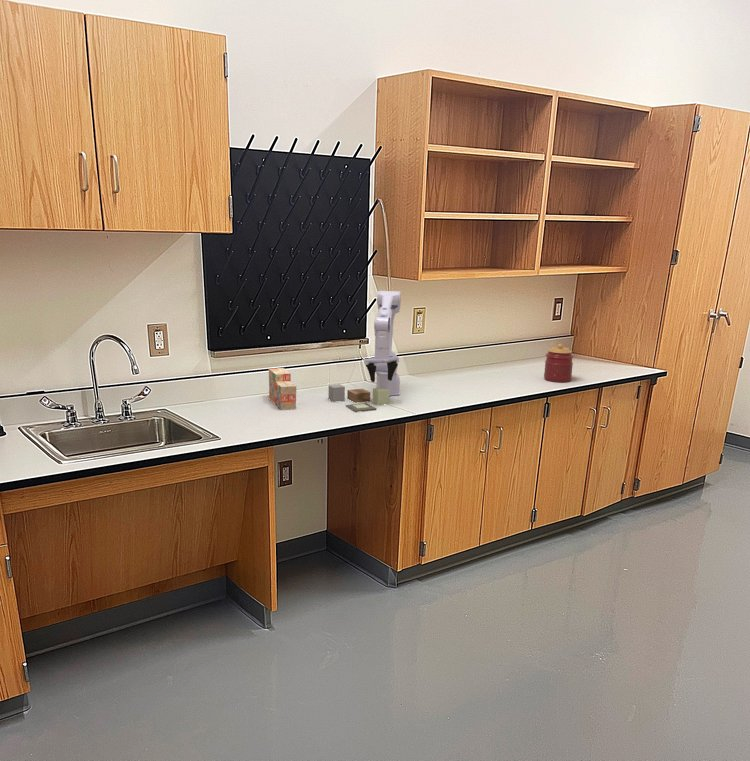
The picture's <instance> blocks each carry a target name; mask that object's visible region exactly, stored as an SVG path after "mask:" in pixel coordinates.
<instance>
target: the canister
mask: <svg viewBox="0 0 750 761" xmlns="http://www.w3.org/2000/svg"><path fill="white" fill-rule="evenodd" d="M547 351H548V352H547V353H545V357H546V358H545V360H544V373H543V378H544V379H543V380H545V381H549V382H554V383H569V382H571V381H572V378H573V365H574V363H573V359H574V355H573V354H572V353H573V350H571V348H568V347H565V346H564V344H563V343H558V344H557V346H552V347H549V348H548V349H547Z"/></svg>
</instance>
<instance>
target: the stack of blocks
mask: <svg viewBox="0 0 750 761" xmlns="http://www.w3.org/2000/svg"><path fill="white" fill-rule="evenodd" d="M291 374H292V373H290V372H289V371H288V370H287V369H285V367H276V368H272V367H271V368H268V383H269V384H268V386H269V390H268V395H269V396H268V397H269V399H270V400H271V401H272V403H274V404H275V405H276V406H277V407H278V409H281V410H282V411H283V410H284V409H286V410H295V409H297V385H296V384H295V383H294V382H293V381H292V380H291ZM281 410H280V411H281Z"/></svg>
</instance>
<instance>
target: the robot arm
mask: <svg viewBox="0 0 750 761" xmlns="http://www.w3.org/2000/svg"><path fill="white" fill-rule="evenodd" d="M401 301H402V293H401V291H400V290H398V291H397V290H396V291H392V290H389V291H388V290H378V291H377V293H376V303H377V316H376V317H375V318H374V320H373V321H374V323H373V329H374V338H375V340H374V357H370V358H364V359H363V360H364V365H365V367H366V368H367V371H368V374H369V377H370V381H371V382H372V383H375V382H376V387H375V388H382V387H384V388H386V389H388V390H390V391H389V397H390V396H398V395H401V393H400V382H401V379H400V376H399V374H398V373H397V372H398V365H399V362H400V357H398V356H397V354H396V353H395V352H394V351H393V350H392V348H393V347H392V346H393V336H394V335H393V334H394V320H395V317H396V315H397V314H398V313H399V312H400V311H401Z"/></svg>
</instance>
